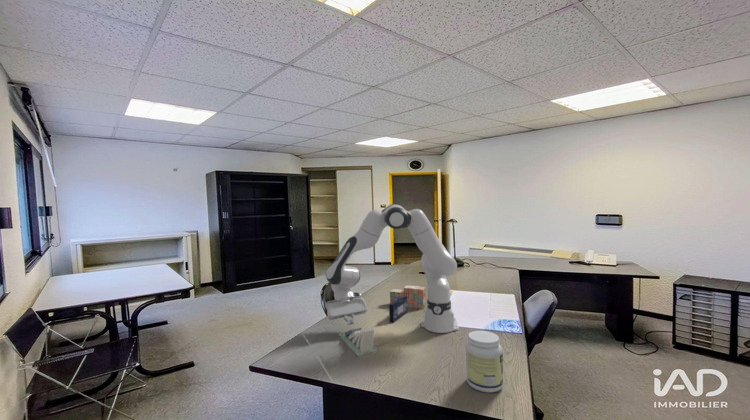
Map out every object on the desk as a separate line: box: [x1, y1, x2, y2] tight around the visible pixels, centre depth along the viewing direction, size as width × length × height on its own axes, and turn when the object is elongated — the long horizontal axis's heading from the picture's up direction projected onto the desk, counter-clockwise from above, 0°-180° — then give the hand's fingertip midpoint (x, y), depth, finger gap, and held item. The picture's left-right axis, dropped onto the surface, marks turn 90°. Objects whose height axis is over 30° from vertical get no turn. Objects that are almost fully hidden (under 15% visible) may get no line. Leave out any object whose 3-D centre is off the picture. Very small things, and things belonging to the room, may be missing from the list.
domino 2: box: [348, 329, 366, 340], centre depth 147 cm, size 2×5×10 cm
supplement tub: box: [465, 330, 504, 393], centre depth 111 cm, size 12×12×17 cm
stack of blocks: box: [389, 285, 426, 310], centre depth 198 cm, size 21×6×12 cm, turn 68°
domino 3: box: [352, 331, 360, 344], centre depth 143 cm, size 2×5×10 cm
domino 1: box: [344, 327, 363, 336], centre depth 151 cm, size 2×5×10 cm
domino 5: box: [360, 327, 375, 353], centre depth 136 cm, size 2×5×10 cm, turn 116°
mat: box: [338, 332, 379, 357], centre depth 147 cm, size 25×10×1 cm, turn 26°
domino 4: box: [356, 329, 363, 348], centre depth 139 cm, size 2×5×10 cm
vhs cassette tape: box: [388, 296, 408, 324], centre depth 178 cm, size 18×3×10 cm, turn 148°
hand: (351, 324), depth 153 cm, fingers closed
